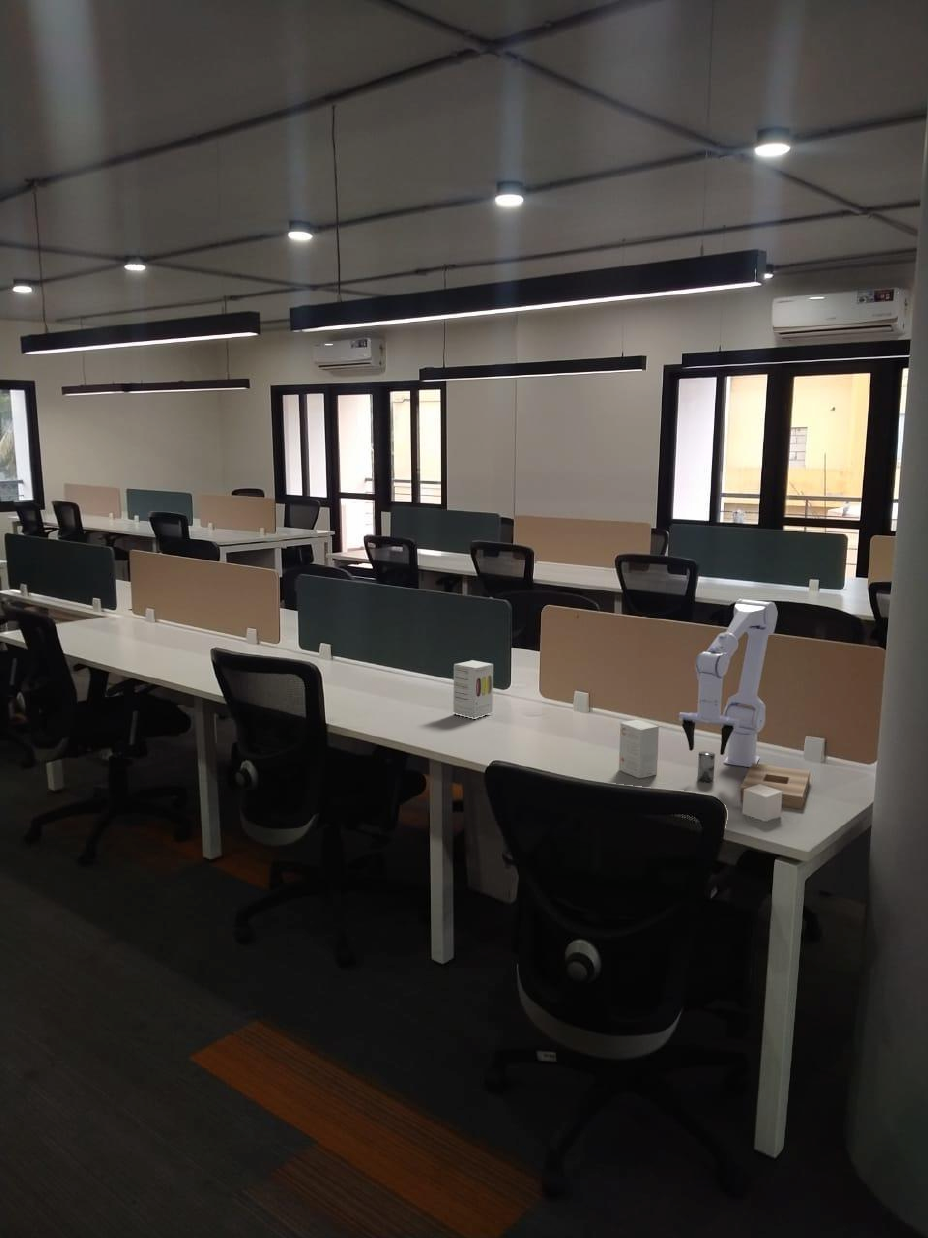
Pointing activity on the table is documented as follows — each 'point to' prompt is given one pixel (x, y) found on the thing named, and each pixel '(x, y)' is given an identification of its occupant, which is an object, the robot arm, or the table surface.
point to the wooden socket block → (779, 782)
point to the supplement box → (473, 688)
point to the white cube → (762, 802)
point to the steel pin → (706, 767)
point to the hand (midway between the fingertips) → (706, 751)
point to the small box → (638, 748)
